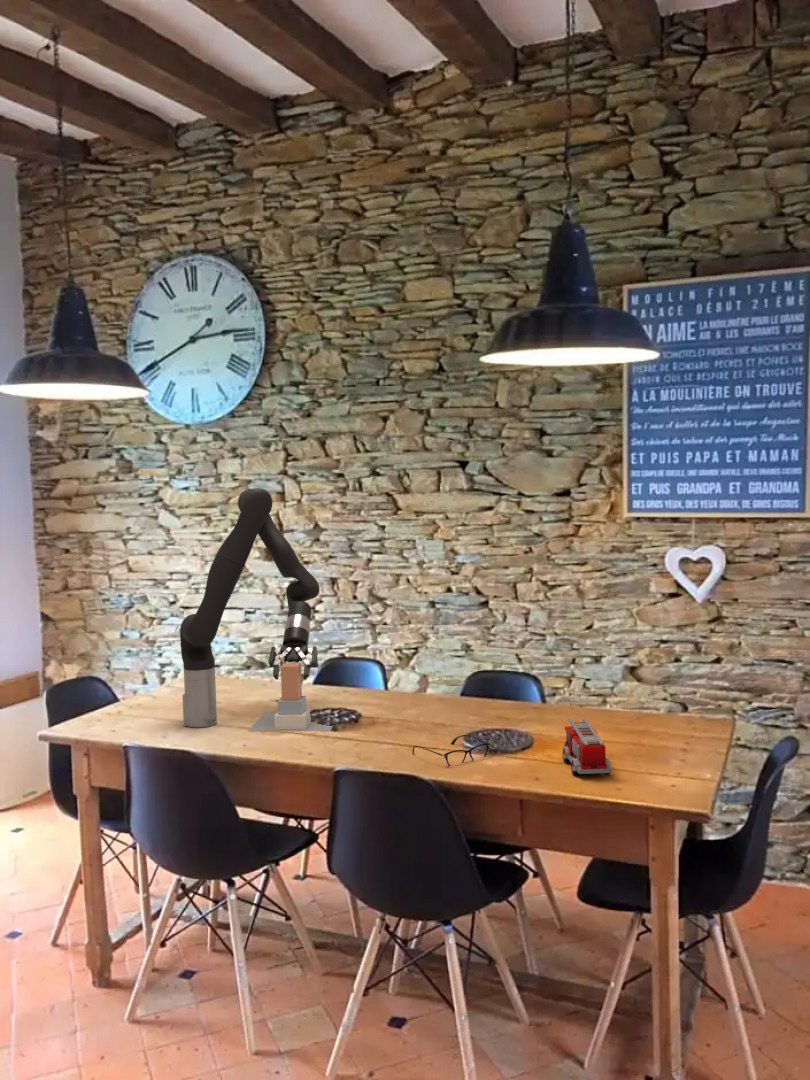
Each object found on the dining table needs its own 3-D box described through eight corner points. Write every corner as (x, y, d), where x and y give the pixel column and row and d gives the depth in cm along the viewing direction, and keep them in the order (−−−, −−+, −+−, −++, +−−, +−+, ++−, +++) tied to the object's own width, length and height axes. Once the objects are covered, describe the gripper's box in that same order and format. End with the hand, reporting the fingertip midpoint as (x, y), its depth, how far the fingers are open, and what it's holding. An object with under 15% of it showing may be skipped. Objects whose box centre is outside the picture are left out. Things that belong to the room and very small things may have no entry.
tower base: (274, 729, 270) (273, 702, 270) (280, 721, 279) (280, 695, 279) (305, 729, 270) (304, 702, 269) (310, 721, 278) (309, 695, 278)
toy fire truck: (594, 756, 240) (594, 718, 239) (613, 779, 221) (613, 738, 221) (560, 757, 240) (559, 719, 239) (576, 780, 221) (575, 739, 220)
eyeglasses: (444, 769, 233) (443, 754, 233) (406, 755, 246) (406, 740, 245) (493, 757, 243) (493, 742, 242) (455, 744, 255) (455, 729, 255)
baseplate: (247, 733, 269) (247, 731, 269) (264, 714, 291) (264, 712, 291) (330, 733, 268) (330, 730, 267) (341, 714, 289) (340, 711, 289)
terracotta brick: (281, 700, 272) (280, 666, 271) (285, 696, 277) (284, 663, 276) (298, 700, 271) (297, 666, 271) (301, 696, 276) (300, 663, 276)
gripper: (271, 625, 281) (264, 671, 270) (318, 625, 280) (312, 670, 269) (275, 640, 286) (268, 685, 276) (321, 639, 285) (316, 684, 275)
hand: (290, 678), depth 272 cm, fingers open, 8 cm apart
